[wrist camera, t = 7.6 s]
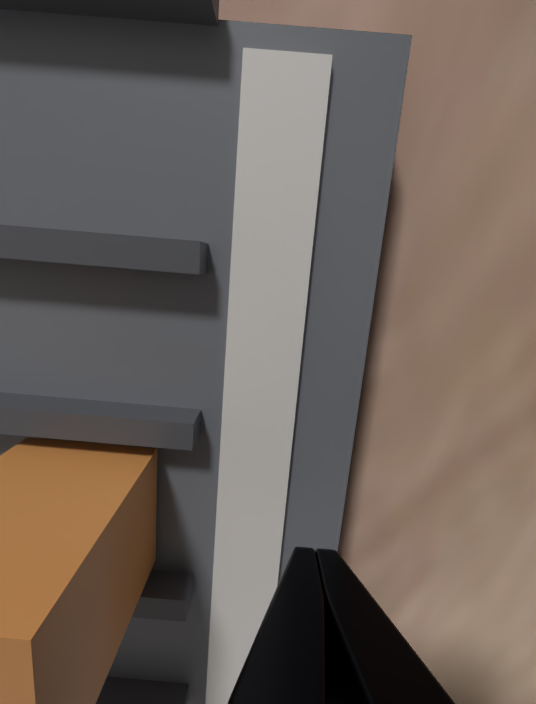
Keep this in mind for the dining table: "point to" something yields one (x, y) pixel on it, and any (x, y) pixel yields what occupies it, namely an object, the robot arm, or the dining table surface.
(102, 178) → the board
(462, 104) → the dining table surface
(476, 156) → the dining table surface
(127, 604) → the handle
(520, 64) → the dining table surface
